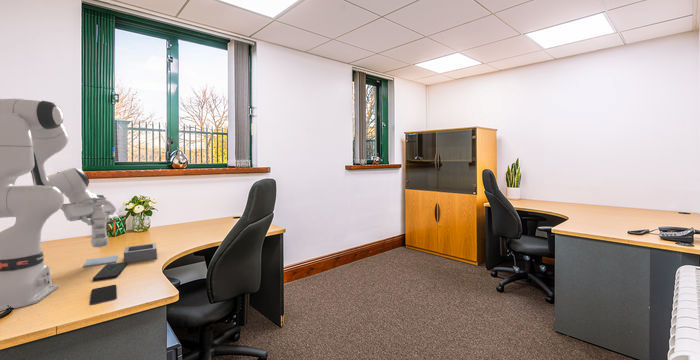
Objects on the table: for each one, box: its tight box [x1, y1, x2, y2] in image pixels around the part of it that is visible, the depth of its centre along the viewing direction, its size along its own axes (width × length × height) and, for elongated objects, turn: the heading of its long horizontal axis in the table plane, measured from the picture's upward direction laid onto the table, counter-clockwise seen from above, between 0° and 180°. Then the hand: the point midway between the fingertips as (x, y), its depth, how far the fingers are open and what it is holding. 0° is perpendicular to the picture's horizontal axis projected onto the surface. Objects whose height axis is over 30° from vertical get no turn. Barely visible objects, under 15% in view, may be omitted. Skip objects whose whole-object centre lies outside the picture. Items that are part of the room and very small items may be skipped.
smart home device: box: [92, 261, 128, 282], centre depth 134 cm, size 8×2×20 cm
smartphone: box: [89, 284, 118, 306], centre depth 109 cm, size 7×1×15 cm
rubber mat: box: [82, 255, 119, 268], centre depth 149 cm, size 12×12×1 cm
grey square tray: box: [123, 242, 158, 264], centre depth 154 cm, size 13×13×5 cm
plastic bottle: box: [89, 205, 109, 248], centre depth 148 cm, size 6×7×20 cm
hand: (99, 222), depth 148 cm, fingers closed on plastic bottle, 6 cm apart
